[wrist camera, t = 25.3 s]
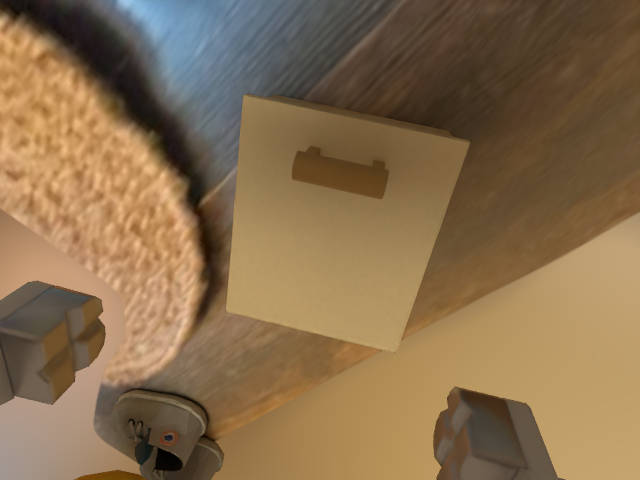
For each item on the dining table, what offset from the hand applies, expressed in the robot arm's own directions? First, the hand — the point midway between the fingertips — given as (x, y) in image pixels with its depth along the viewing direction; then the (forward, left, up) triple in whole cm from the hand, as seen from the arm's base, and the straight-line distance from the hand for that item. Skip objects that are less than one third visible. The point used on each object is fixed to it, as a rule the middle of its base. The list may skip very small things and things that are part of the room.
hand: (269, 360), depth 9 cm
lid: (+5, +2, -18) cm, 19 cm away
